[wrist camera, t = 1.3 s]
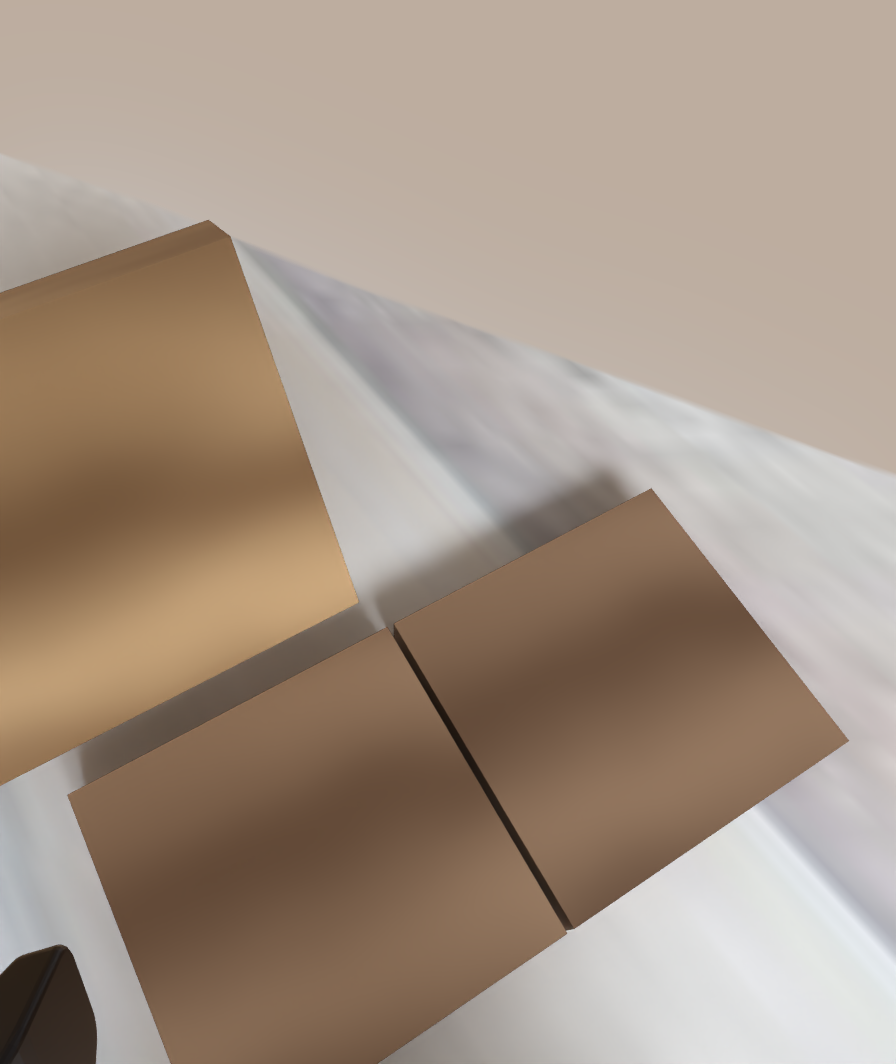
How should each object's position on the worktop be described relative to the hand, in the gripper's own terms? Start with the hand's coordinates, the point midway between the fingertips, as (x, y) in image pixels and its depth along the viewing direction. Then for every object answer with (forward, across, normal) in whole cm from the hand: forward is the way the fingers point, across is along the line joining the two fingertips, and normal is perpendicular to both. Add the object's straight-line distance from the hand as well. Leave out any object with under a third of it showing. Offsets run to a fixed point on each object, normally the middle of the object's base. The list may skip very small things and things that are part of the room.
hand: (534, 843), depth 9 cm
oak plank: (+13, +8, -2) cm, 15 cm away
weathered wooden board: (+13, -1, +7) cm, 15 cm away
